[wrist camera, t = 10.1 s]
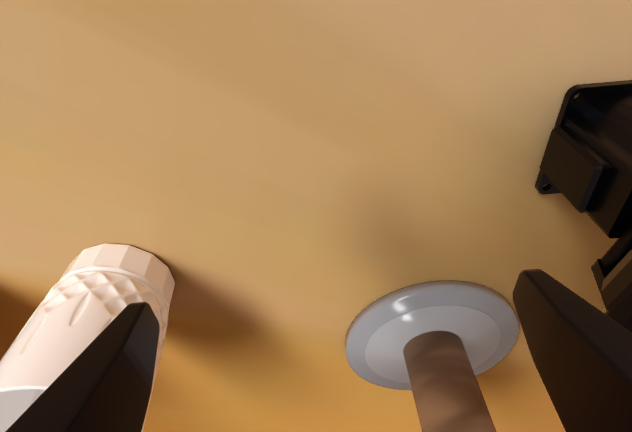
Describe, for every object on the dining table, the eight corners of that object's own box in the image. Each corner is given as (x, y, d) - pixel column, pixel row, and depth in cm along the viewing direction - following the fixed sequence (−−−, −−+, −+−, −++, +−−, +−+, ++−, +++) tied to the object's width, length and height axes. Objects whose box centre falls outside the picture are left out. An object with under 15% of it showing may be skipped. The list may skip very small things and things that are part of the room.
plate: (534, 273, 29) (541, 285, 28) (493, 373, 38) (498, 385, 37) (342, 288, 29) (344, 301, 28) (347, 385, 38) (348, 397, 37)
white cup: (144, 326, 31) (94, 470, 23) (41, 278, 27) (-59, 431, 19) (206, 276, 28) (173, 424, 20) (100, 214, 24) (9, 367, 16)
